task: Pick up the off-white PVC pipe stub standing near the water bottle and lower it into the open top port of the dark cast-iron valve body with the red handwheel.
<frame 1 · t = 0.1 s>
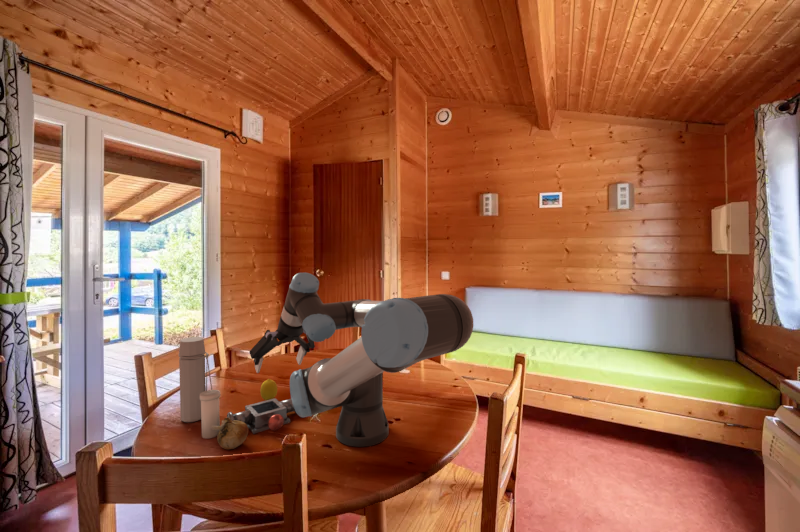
hand: (278, 365, 118), 15 cm above the table, tool tilted 35°, fingers open, 13 cm apart
pipe stub: (210, 434, 104), on the table
lemon: (269, 402, 127), on the table
onion: (232, 447, 98), on the table
water bottle: (196, 418, 115), on the table
valve body: (265, 421, 112), on the table
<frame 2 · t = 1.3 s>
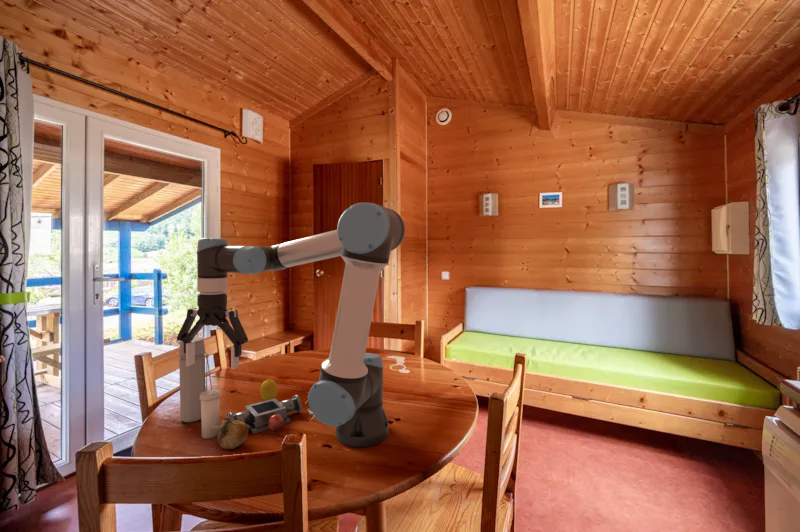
hand: (212, 366, 104), 19 cm above the table, tool pointing down, fingers open, 13 cm apart
nothing on the table moved.
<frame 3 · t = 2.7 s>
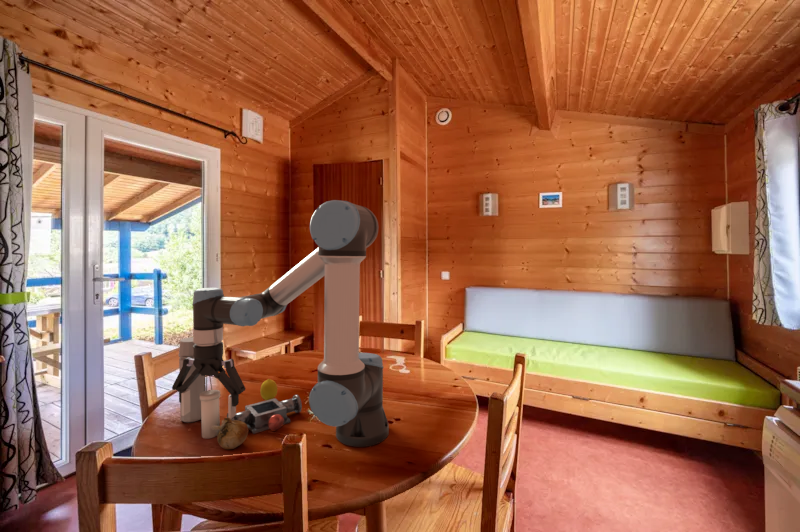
hand: (208, 415, 104), 5 cm above the table, tool pointing down, fingers open, 13 cm apart
nothing on the table moved.
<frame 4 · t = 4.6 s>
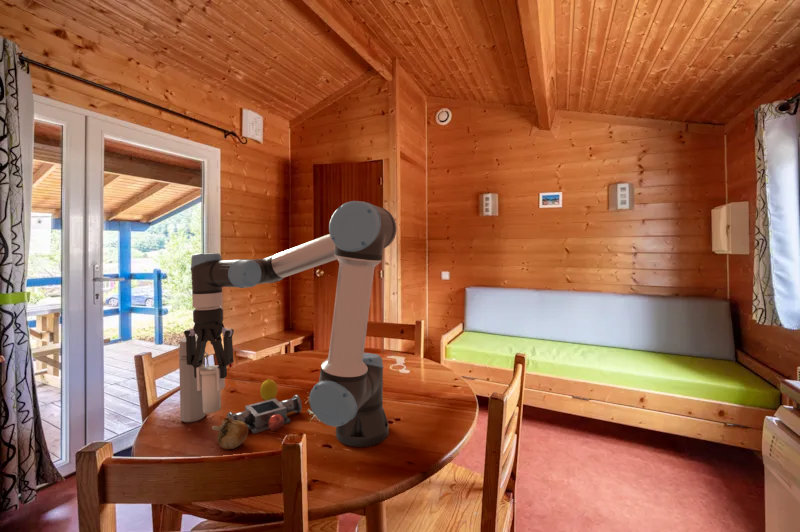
hand: (211, 388, 104), 13 cm above the table, tool pointing down, fingers closed on pipe stub, 5 cm apart
pipe stub: (211, 409, 104), point 7 cm above the table, touching gripper
everything else where it was.
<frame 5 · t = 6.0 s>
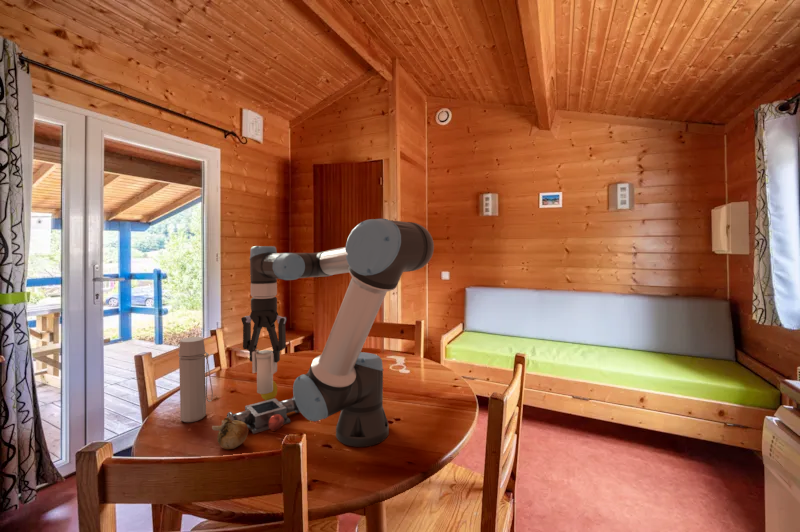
hand: (264, 371, 112), 15 cm above the table, tool pointing down, fingers closed on pipe stub, 5 cm apart
pipe stub: (265, 390, 112), point 9 cm above the table, touching gripper
everything else where it was.
when the fingers open (6 cm above the table, at t = 7.6 s): pipe stub stays where it is, resting on valve body.
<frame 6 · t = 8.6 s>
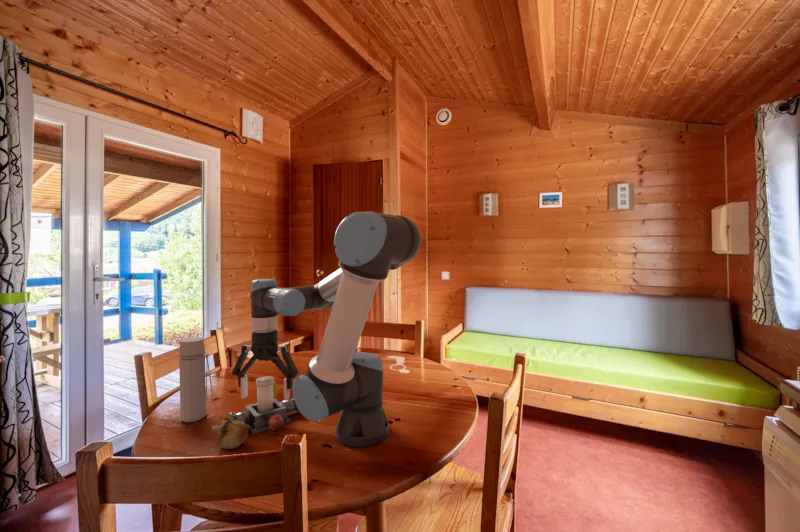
hand: (265, 398, 112), 7 cm above the table, tool pointing down, fingers open, 13 cm apart
pipe stub: (265, 417, 113), point 1 cm above the table, touching valve body
everything else where it was.
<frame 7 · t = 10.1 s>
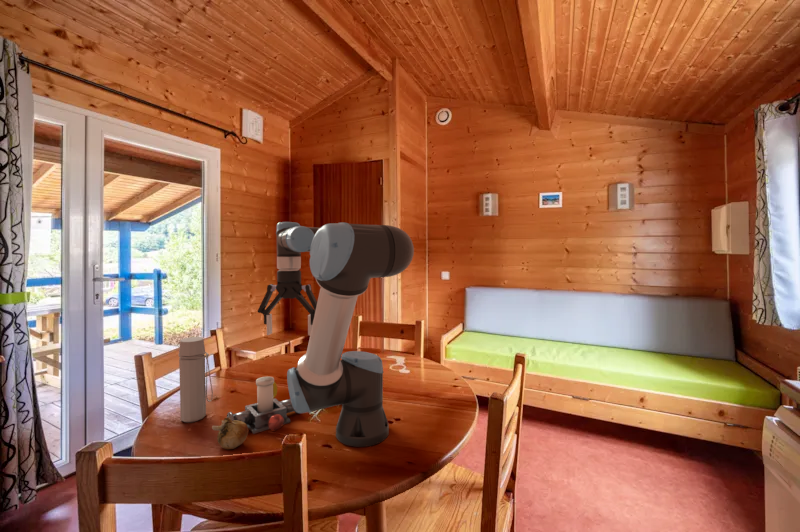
hand: (289, 334, 120), 25 cm above the table, tool pointing down, fingers open, 13 cm apart
nothing on the table moved.
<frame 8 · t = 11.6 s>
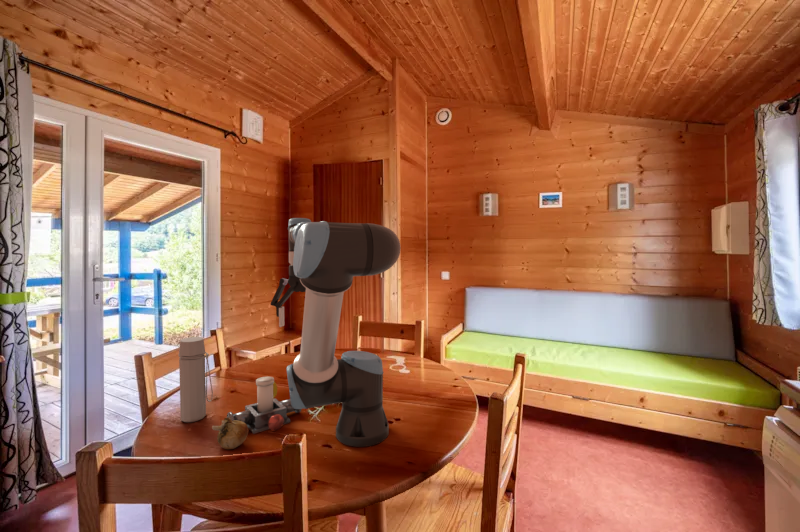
hand: (301, 326, 124), 27 cm above the table, tool pointing down, fingers open, 13 cm apart
nothing on the table moved.
at the end: pipe stub 0.3 cm off-centre on the valve body, point 1.0 cm above the valve body's base; pipe stub tilted 0°; the gripper is holding nothing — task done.
